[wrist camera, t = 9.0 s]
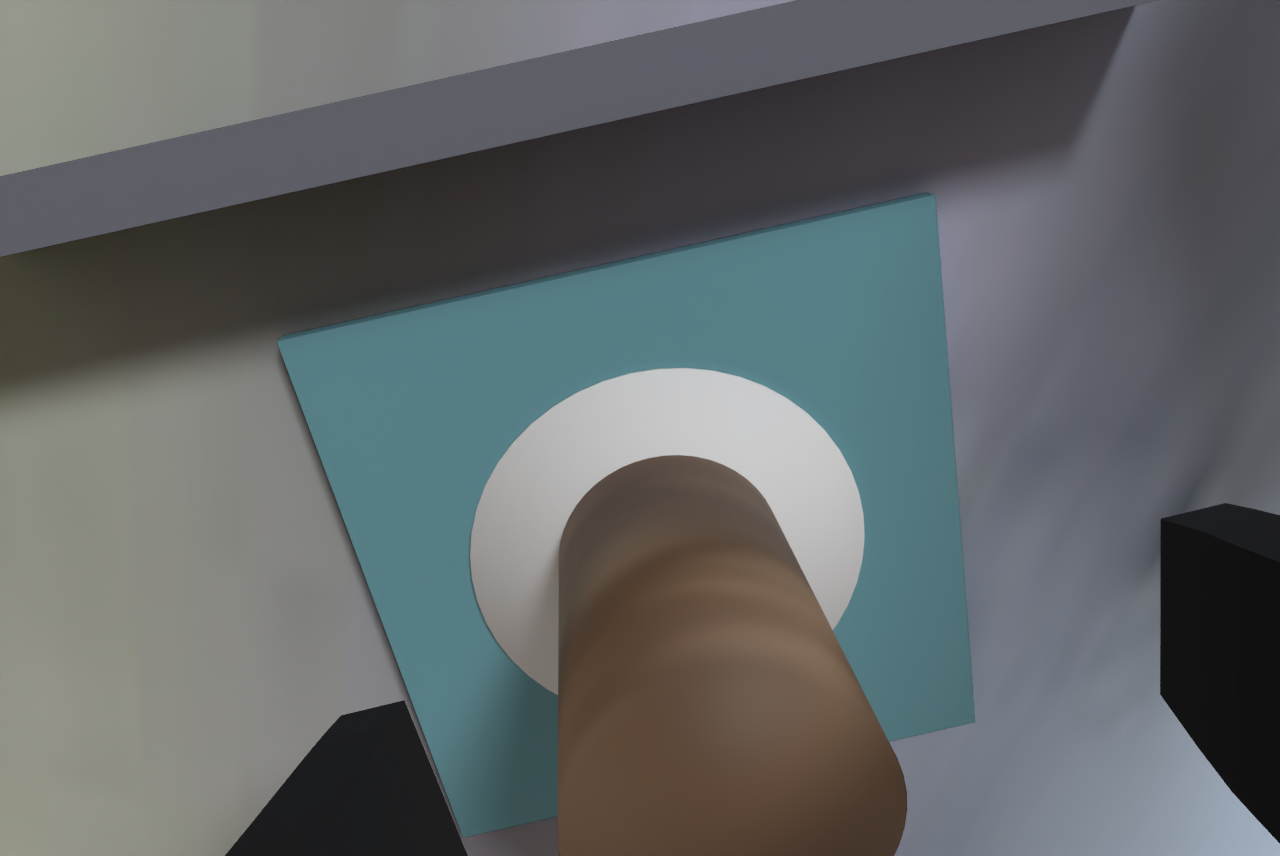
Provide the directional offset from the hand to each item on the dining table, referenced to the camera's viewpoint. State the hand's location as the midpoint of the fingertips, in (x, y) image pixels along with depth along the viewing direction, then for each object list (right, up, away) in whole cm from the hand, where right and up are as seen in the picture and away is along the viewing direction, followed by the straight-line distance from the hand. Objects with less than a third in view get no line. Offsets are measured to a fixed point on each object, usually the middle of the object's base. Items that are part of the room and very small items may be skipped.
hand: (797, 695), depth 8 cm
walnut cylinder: (-1, 0, +9) cm, 9 cm away
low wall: (-3, +8, +7) cm, 11 cm away
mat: (-1, 0, +10) cm, 10 cm away
